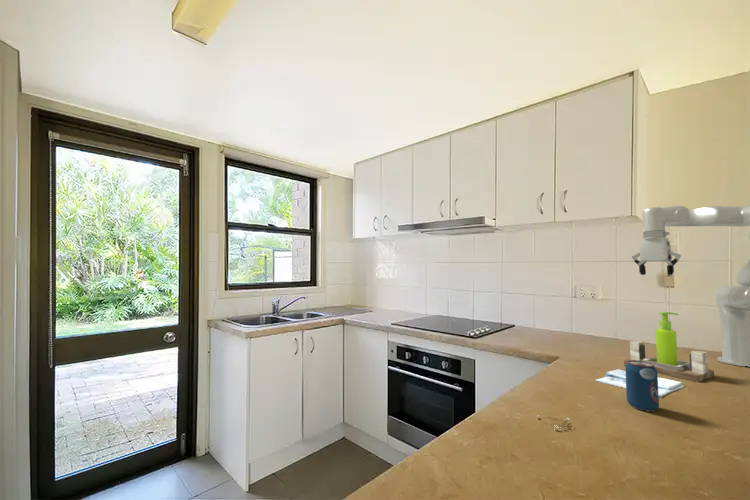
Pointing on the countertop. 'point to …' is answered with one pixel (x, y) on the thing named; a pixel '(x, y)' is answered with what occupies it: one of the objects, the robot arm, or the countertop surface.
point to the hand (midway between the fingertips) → (656, 274)
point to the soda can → (642, 385)
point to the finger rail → (683, 370)
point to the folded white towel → (620, 380)
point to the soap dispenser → (666, 341)
